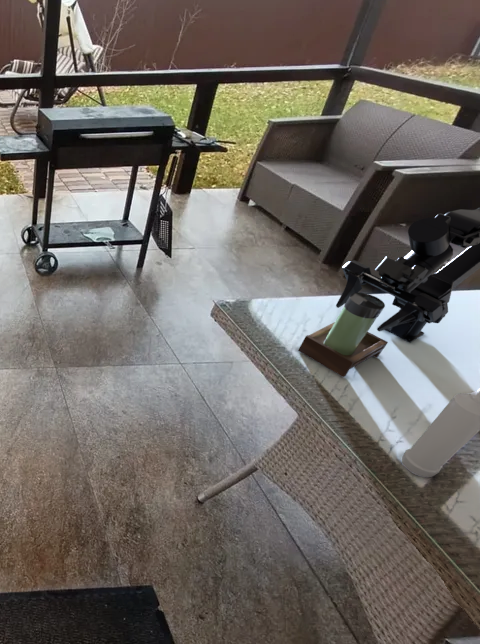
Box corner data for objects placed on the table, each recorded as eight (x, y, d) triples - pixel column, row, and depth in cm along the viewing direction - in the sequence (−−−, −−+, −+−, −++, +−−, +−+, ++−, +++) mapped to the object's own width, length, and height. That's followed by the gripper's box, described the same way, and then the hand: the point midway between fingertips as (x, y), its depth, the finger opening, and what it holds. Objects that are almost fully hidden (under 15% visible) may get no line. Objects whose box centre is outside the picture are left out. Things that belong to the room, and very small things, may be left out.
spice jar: (342, 337, 110) (370, 291, 102) (361, 355, 105) (392, 308, 97) (316, 338, 110) (343, 293, 102) (334, 356, 105) (363, 309, 97)
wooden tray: (332, 332, 116) (341, 318, 114) (378, 356, 109) (388, 342, 106) (297, 350, 111) (305, 336, 108) (343, 377, 104) (352, 362, 101)
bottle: (392, 455, 87) (479, 356, 72) (418, 453, 88) (510, 353, 73) (415, 479, 83) (512, 379, 68) (443, 477, 84) (545, 377, 68)
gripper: (369, 226, 101) (310, 280, 105) (469, 268, 87) (397, 328, 91) (375, 251, 108) (320, 301, 111) (469, 293, 94) (402, 348, 98)
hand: (356, 318), depth 103 cm, fingers open, 9 cm apart
